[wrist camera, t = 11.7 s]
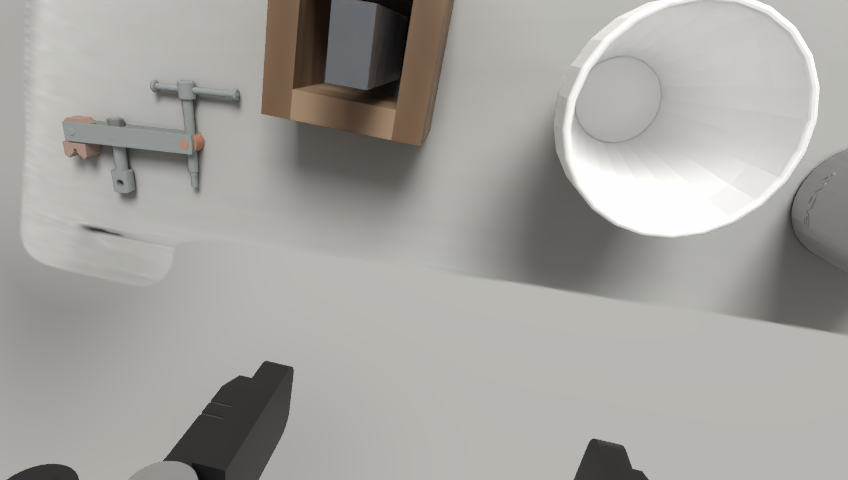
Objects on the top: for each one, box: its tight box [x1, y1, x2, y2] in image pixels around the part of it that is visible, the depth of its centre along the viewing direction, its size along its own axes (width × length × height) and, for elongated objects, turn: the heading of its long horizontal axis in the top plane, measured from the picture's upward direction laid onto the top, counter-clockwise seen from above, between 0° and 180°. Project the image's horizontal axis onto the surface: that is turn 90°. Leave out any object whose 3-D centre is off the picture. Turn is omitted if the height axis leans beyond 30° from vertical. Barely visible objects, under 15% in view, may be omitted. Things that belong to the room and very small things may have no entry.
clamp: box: [62, 80, 240, 193], centre depth 42 cm, size 15×2×10 cm
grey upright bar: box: [325, 0, 407, 90], centre depth 32 cm, size 4×4×12 cm
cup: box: [553, 0, 820, 238], centre depth 31 cm, size 12×12×14 cm
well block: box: [261, 0, 454, 146], centre depth 35 cm, size 11×11×7 cm
